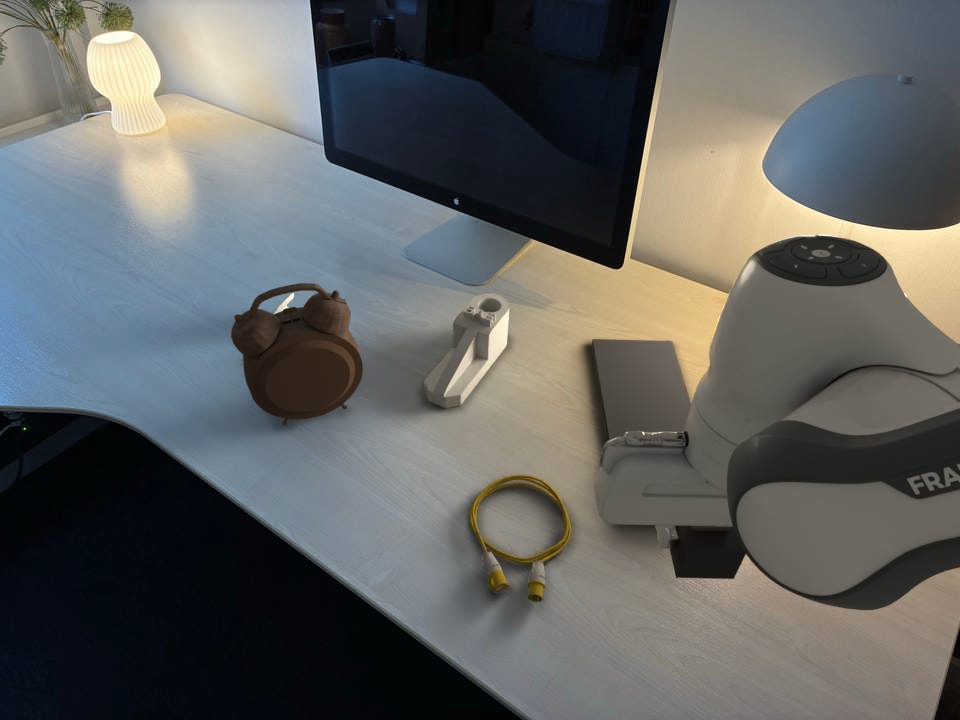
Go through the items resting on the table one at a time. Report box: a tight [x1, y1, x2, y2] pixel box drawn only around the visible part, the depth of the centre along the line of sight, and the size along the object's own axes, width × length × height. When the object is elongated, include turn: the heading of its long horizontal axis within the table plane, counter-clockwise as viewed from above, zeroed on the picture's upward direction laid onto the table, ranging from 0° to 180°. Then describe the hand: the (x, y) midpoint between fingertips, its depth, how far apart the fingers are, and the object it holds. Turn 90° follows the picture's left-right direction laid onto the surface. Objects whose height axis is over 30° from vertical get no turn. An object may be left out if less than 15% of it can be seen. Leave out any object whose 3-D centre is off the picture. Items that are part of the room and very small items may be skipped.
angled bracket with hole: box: [423, 293, 510, 409], centre depth 96 cm, size 6×18×8 cm, turn 152°
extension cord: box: [468, 474, 572, 603], centre depth 77 cm, size 12×16×2 cm
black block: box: [668, 526, 747, 580], centre depth 59 cm, size 5×5×4 cm
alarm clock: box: [230, 282, 364, 427], centre depth 85 cm, size 14×7×20 cm, turn 113°
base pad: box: [591, 338, 692, 441], centre depth 90 cm, size 32×12×2 cm, turn 179°
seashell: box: [272, 292, 295, 315], centre depth 102 cm, size 8×5×8 cm
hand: (703, 542), depth 59 cm, fingers closed on black block, 5 cm apart
